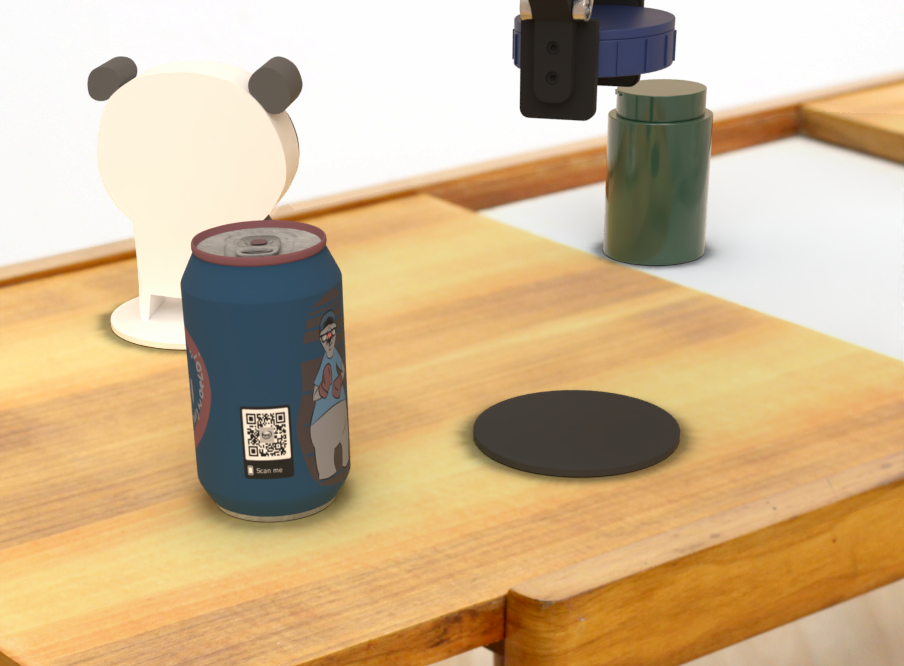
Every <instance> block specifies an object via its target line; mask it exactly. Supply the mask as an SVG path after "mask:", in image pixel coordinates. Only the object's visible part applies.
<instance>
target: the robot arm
mask: <svg viewBox="0 0 904 666" xmlns="http://www.w3.org/2000/svg"><path fill="white" fill-rule="evenodd" d="M593 5H622V6H637V7H645V0H519V14H520V17H521V48H520V69H519V111H520V114H521V115H522V116H523V117H524V118H527V119H541V120H557V121H558V120H559V121H560V120H561V121H577V122H587V121H589V120H590V119H592V118H593V117H594V116H595V115H596V113H597V105H598V86H599V87H616V88H617V87H632V86H634V85H636V84H637V83H638V82H639V80H641V77H642V74H639V75H632V76H621V77H599V78H598V55H599V29H600V19H590V18H591V14H592V7H593Z"/></svg>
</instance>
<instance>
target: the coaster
mask: <svg viewBox="0 0 904 666" xmlns="http://www.w3.org/2000/svg"><path fill="white" fill-rule="evenodd" d="M472 429H473V432H472V435H473V441H474V443H475V445H476V447H477V448H478V449H479V450H480V451H481V452H482V453H483V454H485V455H486V456H488V457H489V458H490V459H492V460H495V461H496V462H498V463H499V464H503V465H505V466H507V467H510V468H513V469H517V470H521V471H525V472H528V473H533V474H540V475H545V476H555V477H567V478H569V477H571V478H593V477H606V476H614V475H621V474H626V473H631V472H635V471H639V470H642V469H645V468H649V467H651V466H653V465H656V464H658V463H660V462H662V461H663V460H665V459H667V458H668V457H669V456H671V455H672V454H673V453H674V452H675V451H676V449H677V448H678V446H679V443H680V440H681V428H680V425H679V423H678V421H677V419H676V418H675V417H674V416H673V415H672V414H670V412H668V411H667V410H665V409H664V408H662V407H660V406H658V405H656V404H654V403H651V402H649V401H647V400H645V399H644V400H643V399H640V398H638V397H634V396H630V395H626V394H620V393H615V392H608V391H602V390H588V389H587V390H586V389H557V390H546V391H539V392H537V391H536V392H532V393H526V394H522V395H517V396H513V397H509V398H507V399H504V400H501V401H499V402H497V403H495V404H493V405H491V406H489V407H487V408H486V409H485V410H483V411H482V412H480V414H479V415H478V416H477V417H476V419H475V421H474V423H473V428H472Z"/></svg>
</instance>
